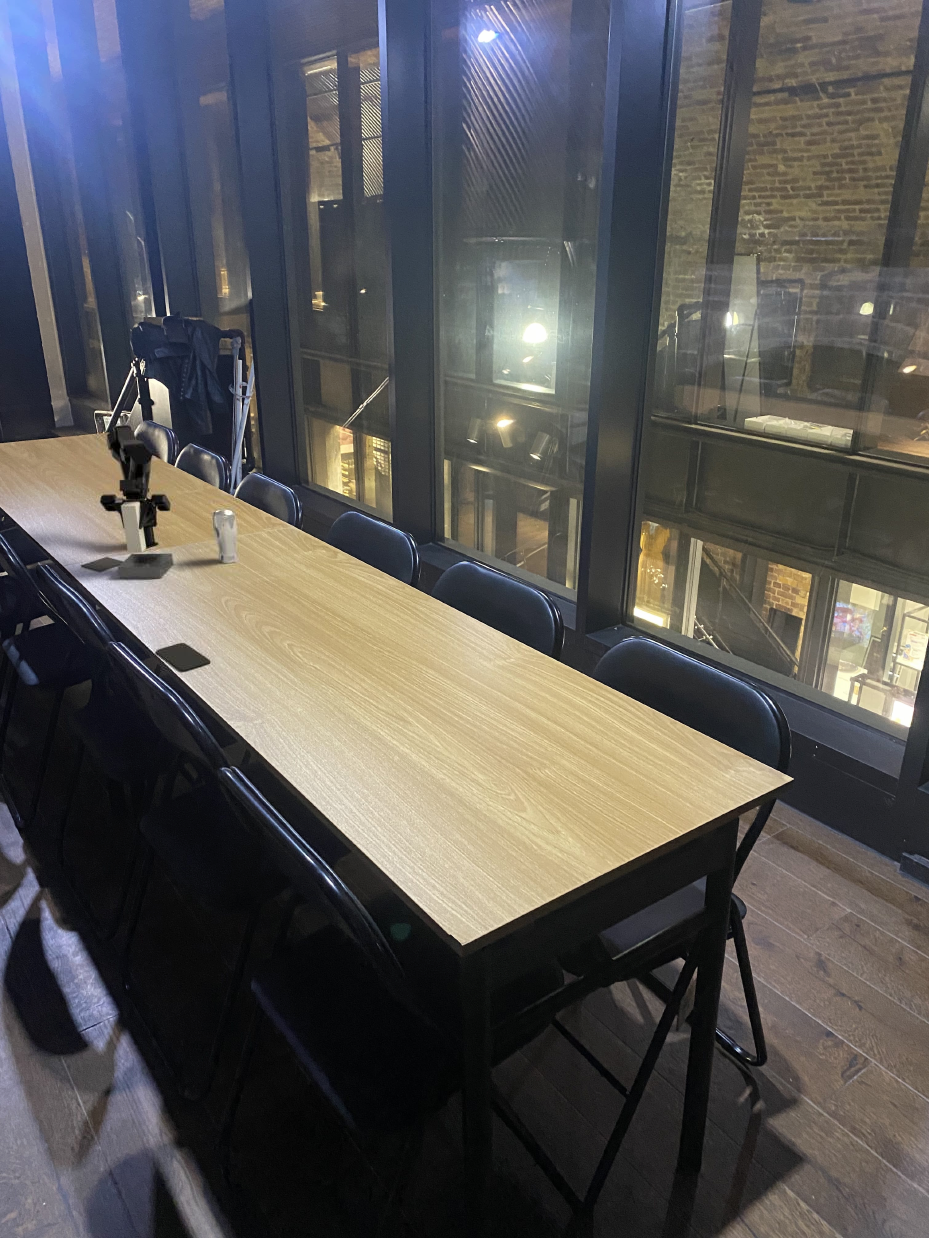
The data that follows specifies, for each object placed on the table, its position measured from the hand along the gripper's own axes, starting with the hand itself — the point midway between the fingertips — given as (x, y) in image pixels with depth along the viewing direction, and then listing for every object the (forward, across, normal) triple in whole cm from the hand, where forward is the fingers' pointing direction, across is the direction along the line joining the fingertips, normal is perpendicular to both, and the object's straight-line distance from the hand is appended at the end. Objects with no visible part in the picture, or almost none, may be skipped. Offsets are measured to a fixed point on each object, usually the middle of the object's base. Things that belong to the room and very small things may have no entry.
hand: (132, 528), depth 253 cm
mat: (+5, -13, +14) cm, 20 cm away
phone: (+52, +29, -34) cm, 68 cm away
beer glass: (+3, +24, +16) cm, 29 cm away
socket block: (+9, +2, +9) cm, 13 cm away
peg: (+4, 0, +6) cm, 7 cm away
